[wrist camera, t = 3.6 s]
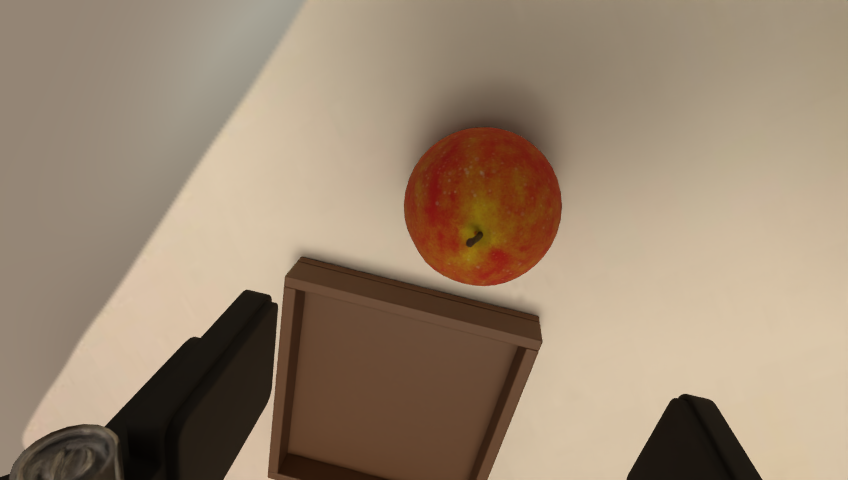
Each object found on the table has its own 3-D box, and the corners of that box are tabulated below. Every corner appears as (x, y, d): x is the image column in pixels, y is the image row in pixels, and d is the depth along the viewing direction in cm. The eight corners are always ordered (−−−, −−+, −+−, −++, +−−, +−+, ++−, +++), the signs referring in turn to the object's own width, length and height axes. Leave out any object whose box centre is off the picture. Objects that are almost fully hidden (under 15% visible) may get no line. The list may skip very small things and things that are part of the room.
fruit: (581, 176, 23) (621, 243, 16) (488, 266, 26) (486, 358, 19) (476, 83, 22) (468, 111, 15) (390, 189, 25) (348, 255, 18)
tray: (300, 256, 27) (284, 275, 25) (539, 316, 27) (543, 341, 25) (281, 450, 35) (267, 478, 33) (468, 500, 34) (466, 531, 32)
